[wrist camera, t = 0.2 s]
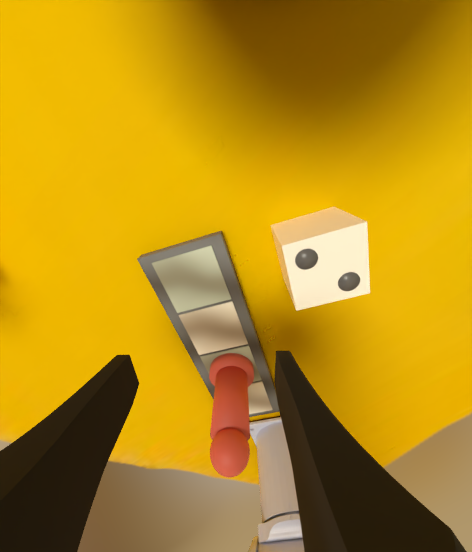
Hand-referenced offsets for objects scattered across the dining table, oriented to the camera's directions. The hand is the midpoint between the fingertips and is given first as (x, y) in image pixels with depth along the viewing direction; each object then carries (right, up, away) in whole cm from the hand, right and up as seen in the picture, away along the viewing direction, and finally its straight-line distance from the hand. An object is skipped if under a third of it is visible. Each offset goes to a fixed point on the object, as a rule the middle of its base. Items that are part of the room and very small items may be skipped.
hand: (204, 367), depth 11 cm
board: (0, -3, +12) cm, 13 cm away
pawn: (+1, -5, +13) cm, 14 cm away
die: (+7, +7, +8) cm, 13 cm away
